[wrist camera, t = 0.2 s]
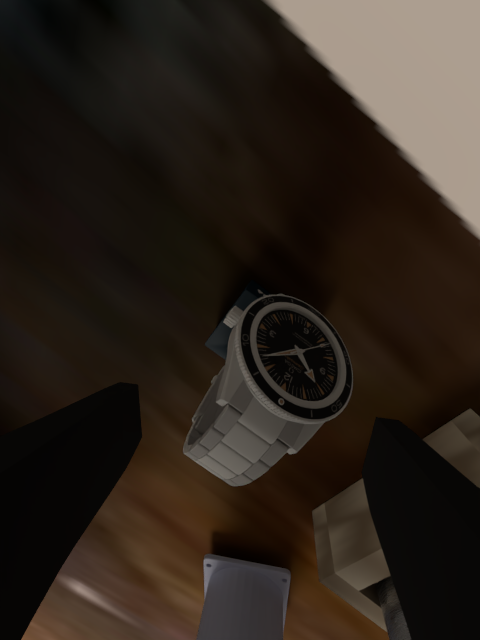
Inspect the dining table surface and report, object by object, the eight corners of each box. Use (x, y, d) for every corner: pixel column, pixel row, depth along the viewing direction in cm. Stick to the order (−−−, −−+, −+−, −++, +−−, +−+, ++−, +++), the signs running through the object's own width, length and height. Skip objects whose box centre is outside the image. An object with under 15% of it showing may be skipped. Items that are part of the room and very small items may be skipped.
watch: (337, 306, 18) (413, 414, 7) (262, 387, 20) (241, 549, 10) (268, 254, 17) (248, 290, 7) (202, 344, 20) (115, 465, 10)
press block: (386, 568, 24) (410, 649, 20) (312, 511, 23) (319, 581, 19) (556, 485, 19) (644, 567, 15) (470, 408, 18) (533, 469, 14)
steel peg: (399, 599, 20) (432, 706, 16) (359, 569, 20) (382, 670, 15) (447, 578, 19) (499, 689, 14) (405, 545, 18) (445, 648, 14)
